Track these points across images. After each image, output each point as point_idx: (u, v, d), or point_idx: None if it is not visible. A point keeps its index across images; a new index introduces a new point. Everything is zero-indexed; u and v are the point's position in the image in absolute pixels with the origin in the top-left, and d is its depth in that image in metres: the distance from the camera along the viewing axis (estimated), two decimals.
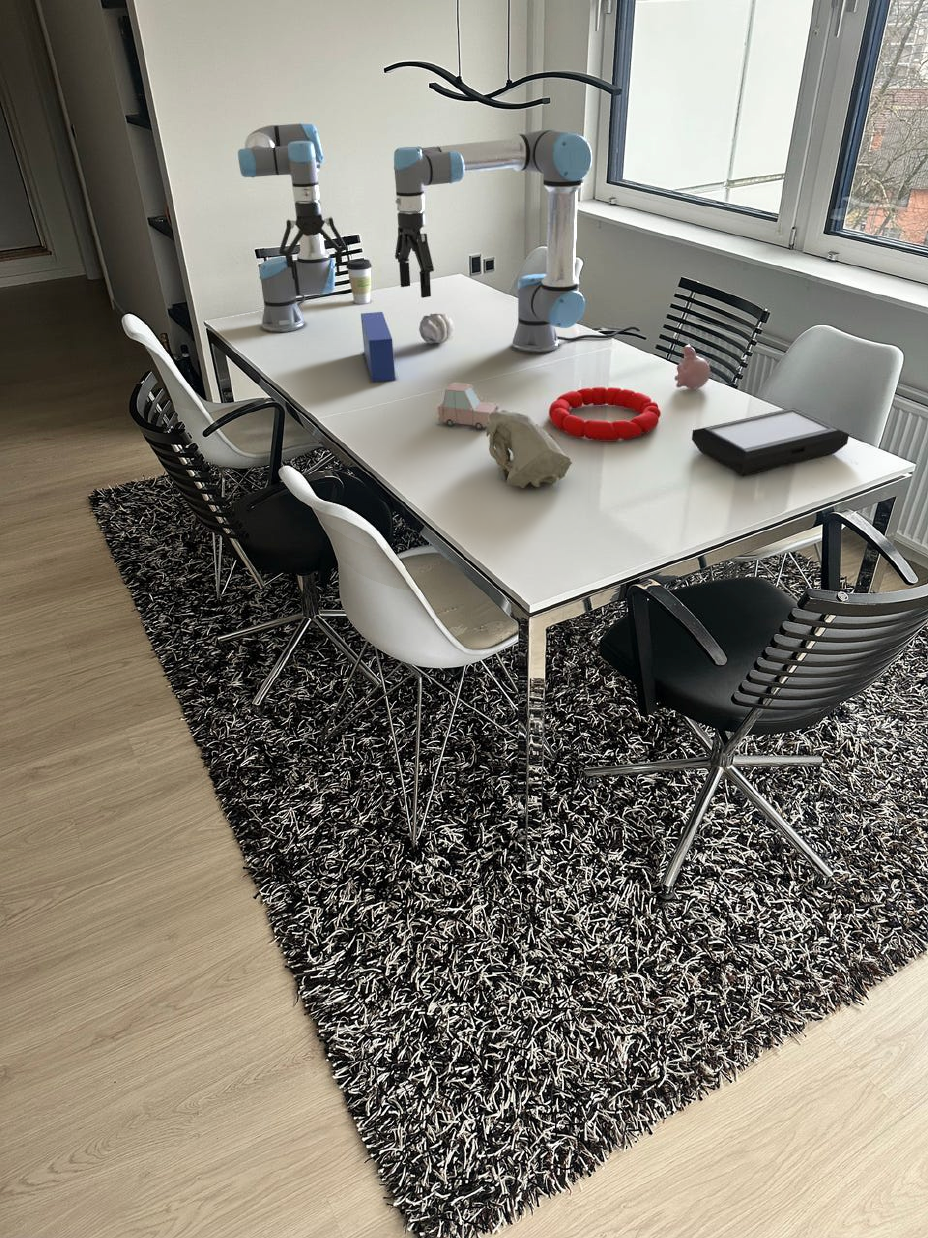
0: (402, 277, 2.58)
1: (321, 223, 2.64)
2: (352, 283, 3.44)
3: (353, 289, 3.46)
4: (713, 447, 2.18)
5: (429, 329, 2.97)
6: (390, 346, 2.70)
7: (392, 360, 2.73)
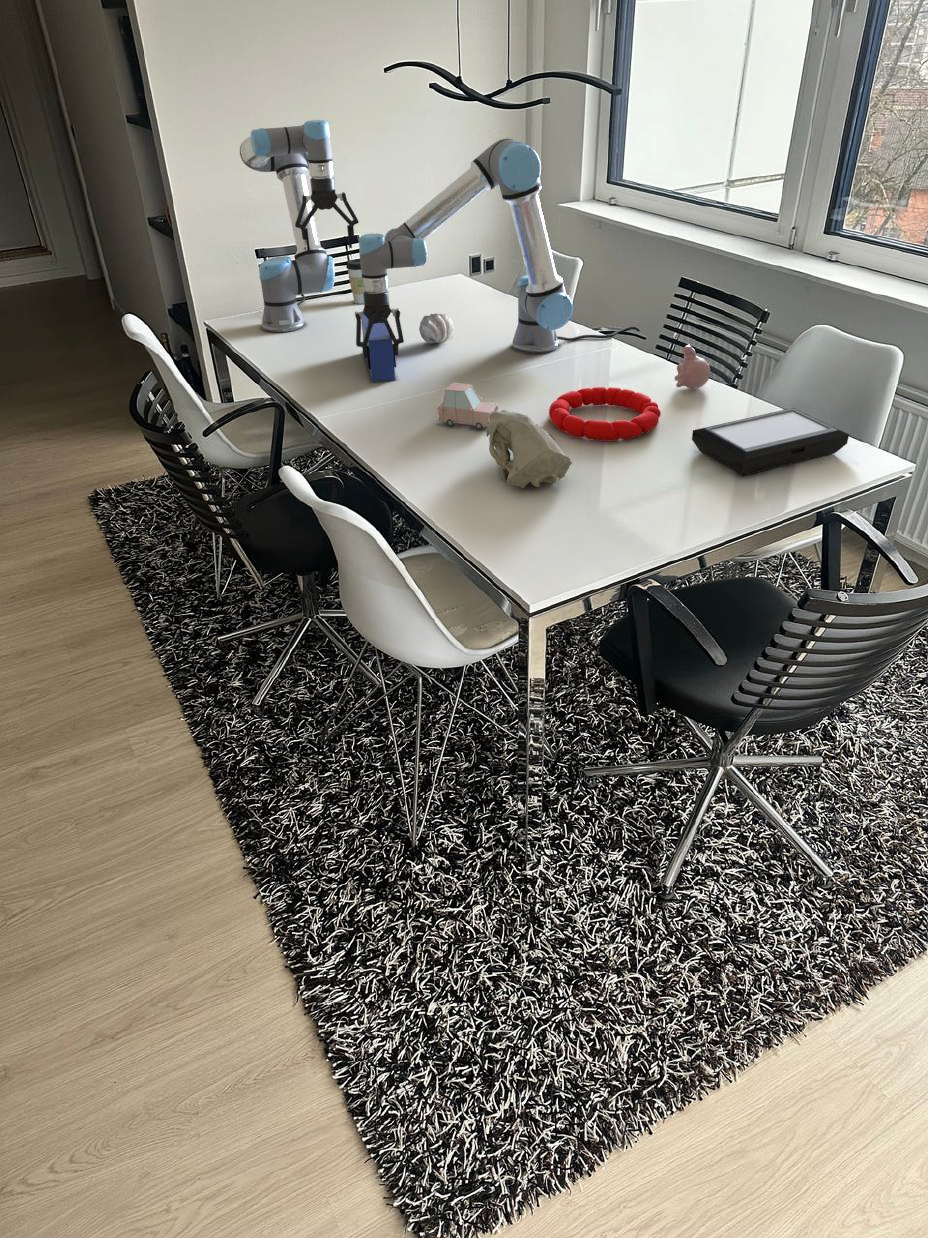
0: None
1: (335, 198, 2.81)
2: (352, 283, 3.44)
3: (353, 289, 3.46)
4: (713, 447, 2.18)
5: (429, 329, 2.97)
6: (390, 346, 2.70)
7: (392, 360, 2.73)
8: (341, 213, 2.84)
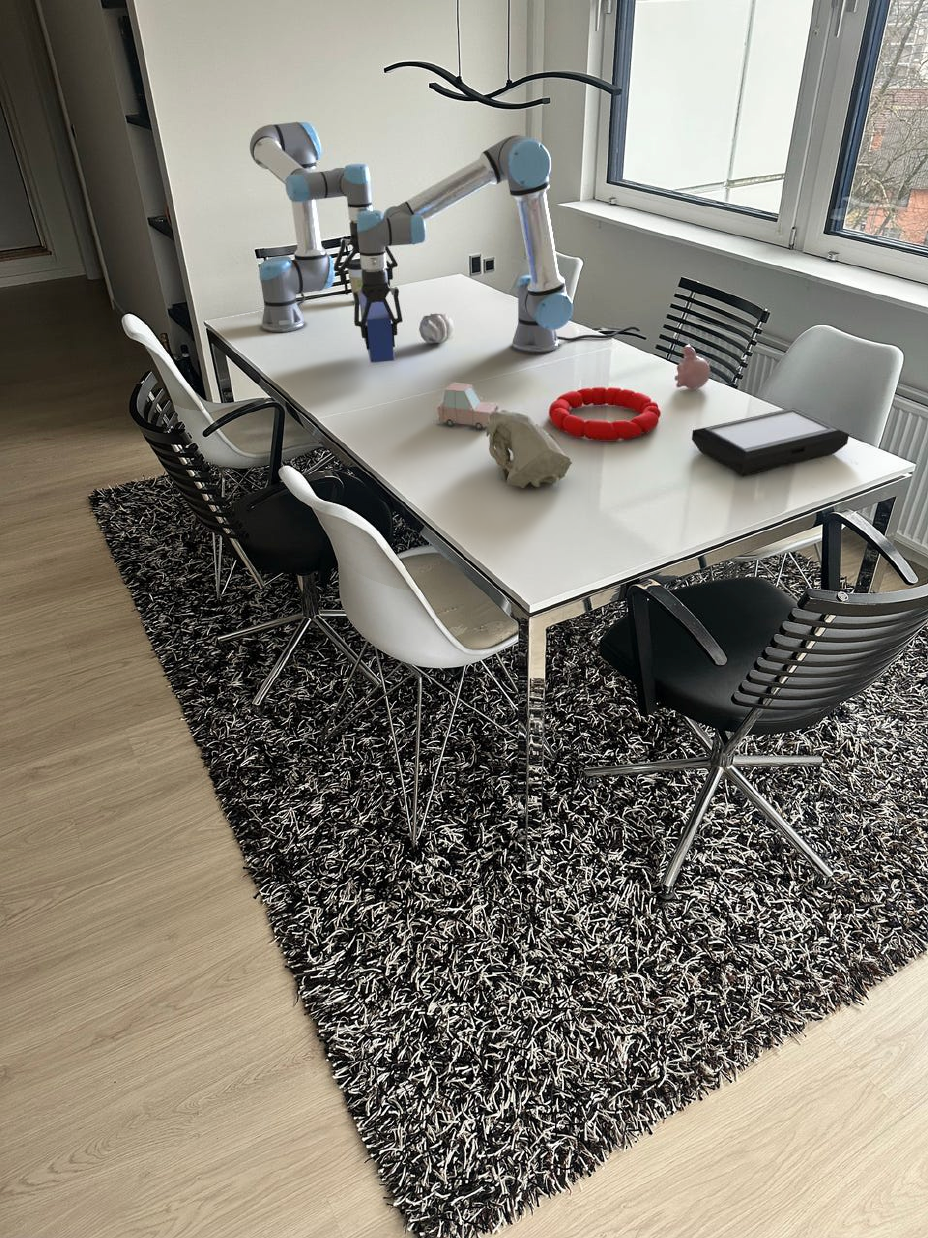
0: (368, 340, 2.70)
1: None
2: (352, 283, 3.44)
3: (353, 289, 3.46)
4: (713, 447, 2.18)
5: (429, 329, 2.97)
6: (388, 326, 2.67)
7: (391, 340, 2.69)
8: None
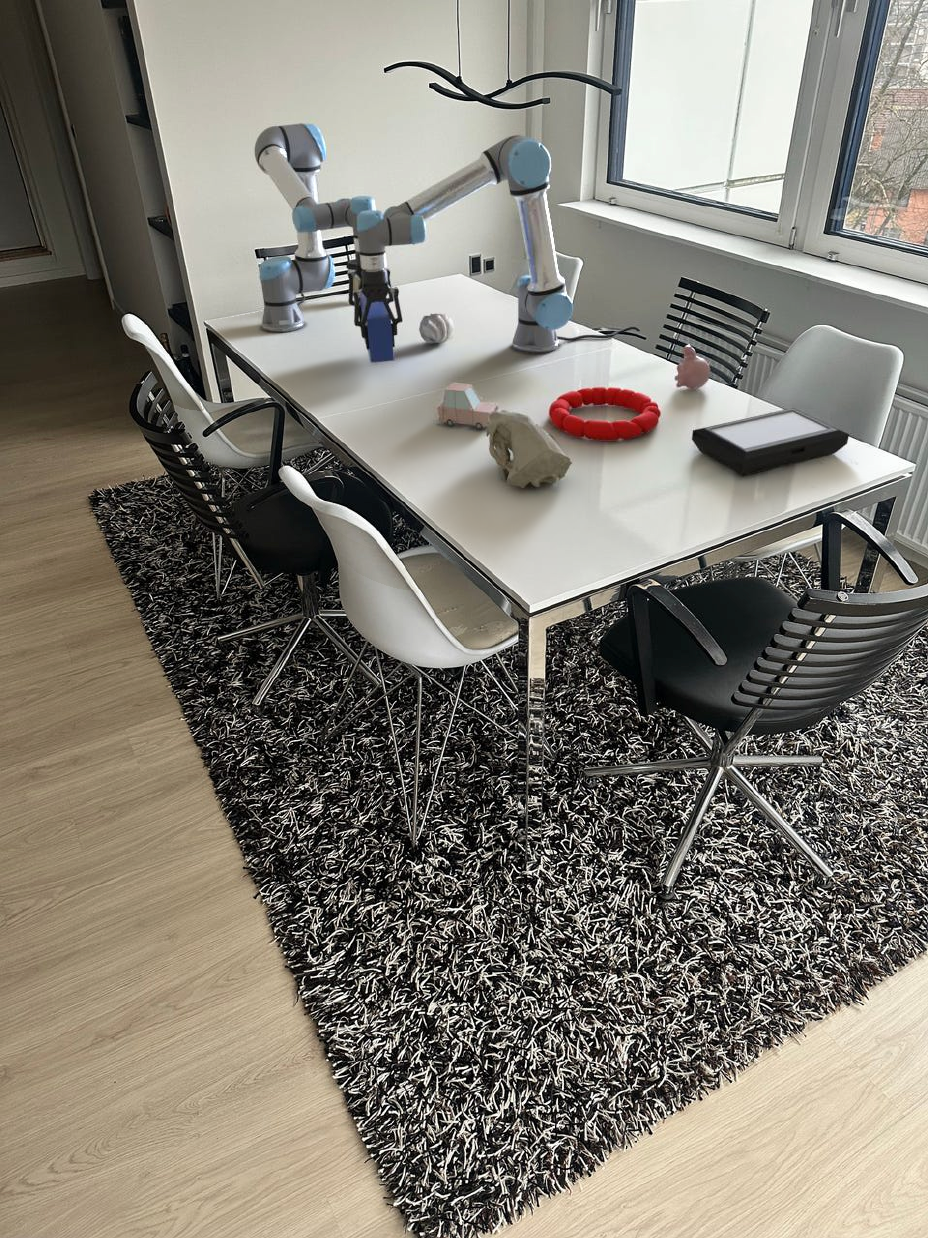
0: (368, 340, 2.70)
1: None
2: None
3: (353, 289, 3.46)
4: (713, 447, 2.18)
5: (429, 329, 2.97)
6: (388, 326, 2.67)
7: (391, 340, 2.69)
8: None
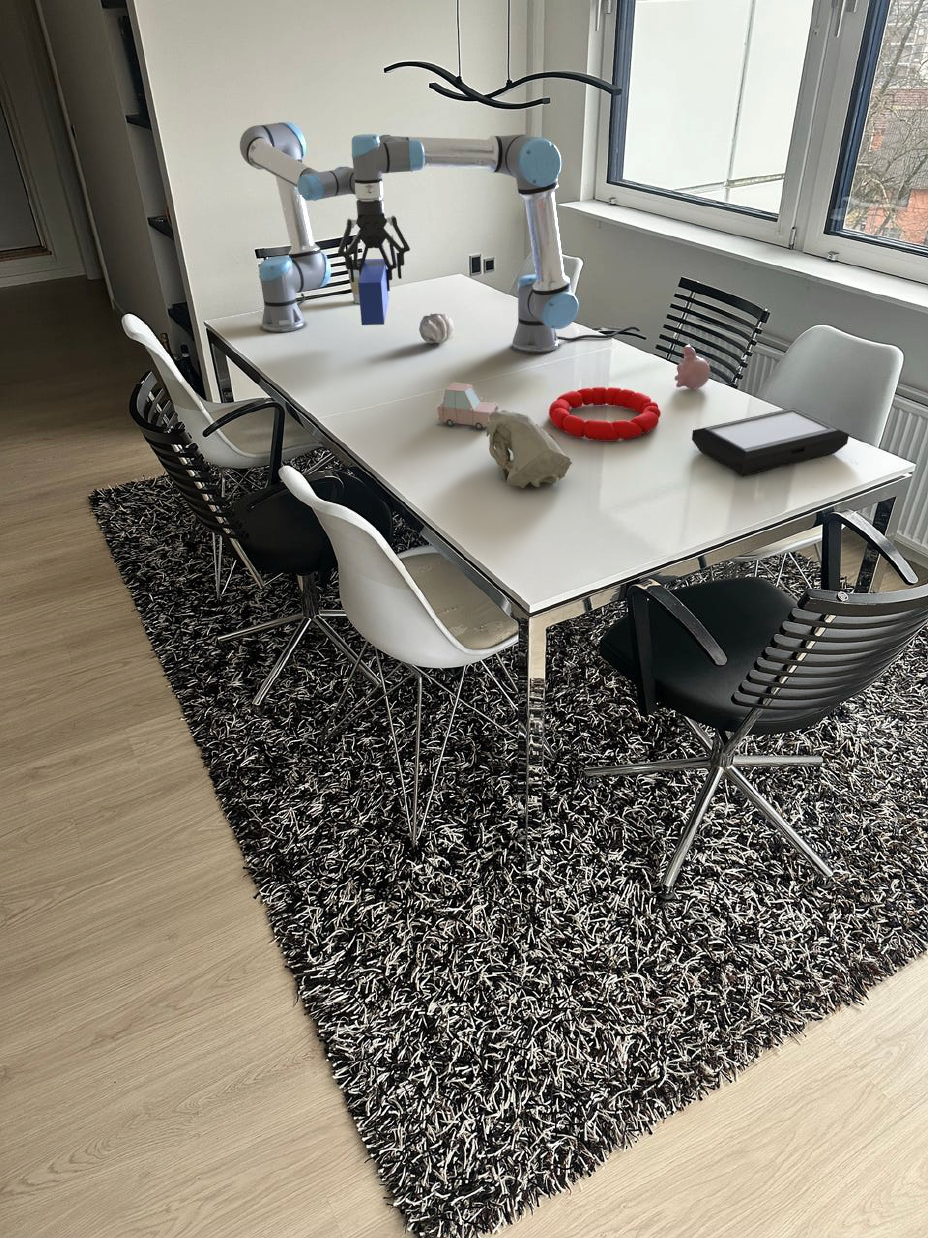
0: None
1: (383, 237, 2.90)
2: (352, 283, 3.44)
3: (353, 289, 3.46)
4: (713, 447, 2.18)
5: (429, 329, 2.97)
6: (379, 290, 2.75)
7: (381, 304, 2.77)
8: (384, 255, 2.93)
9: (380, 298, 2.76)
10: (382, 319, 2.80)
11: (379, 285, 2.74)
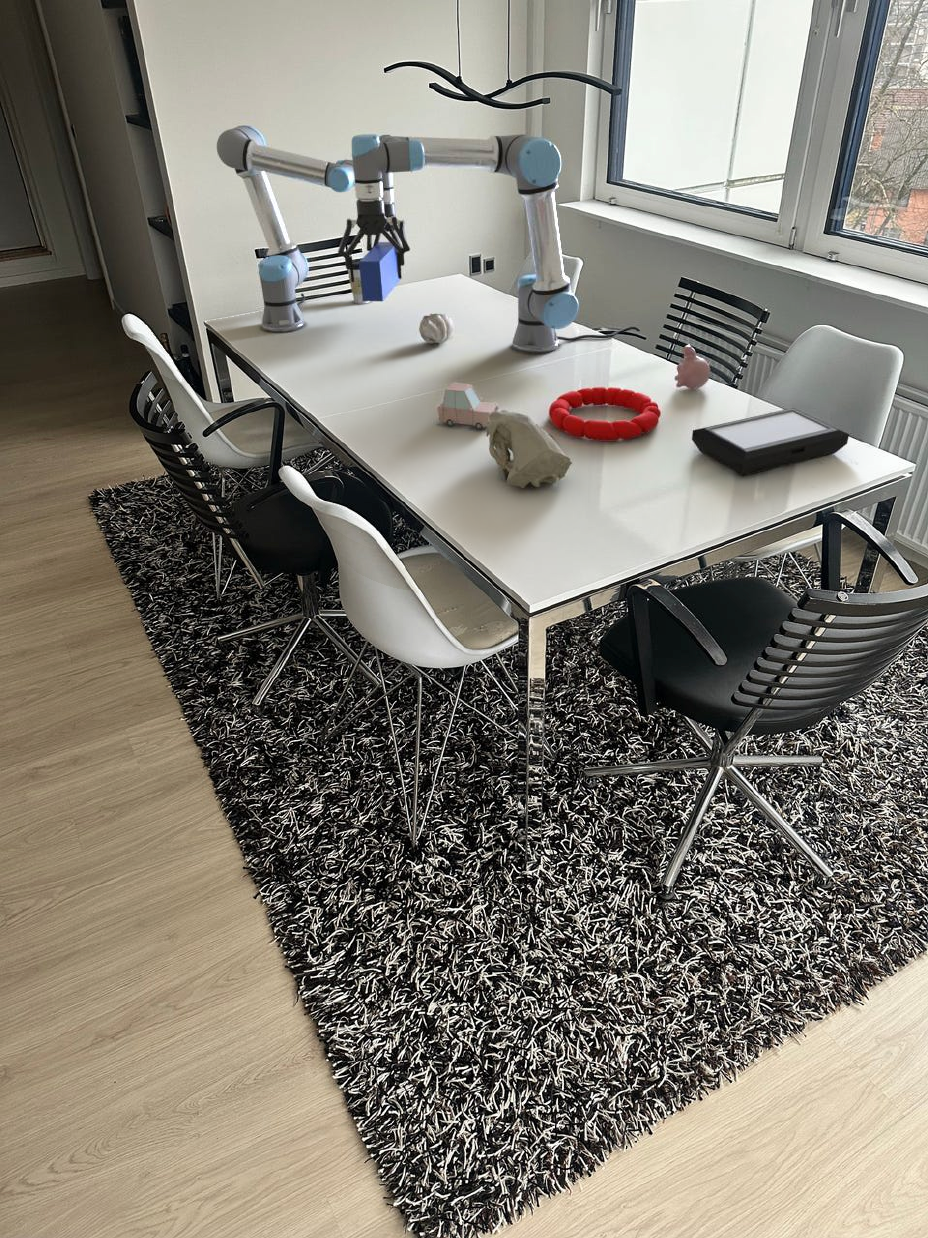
0: None
1: None
2: (352, 283, 3.44)
3: (353, 289, 3.46)
4: (713, 447, 2.18)
5: (429, 329, 2.97)
6: (378, 269, 2.97)
7: (380, 282, 2.99)
8: (394, 238, 3.15)
9: (379, 276, 2.98)
10: (381, 296, 3.02)
11: (378, 264, 2.96)
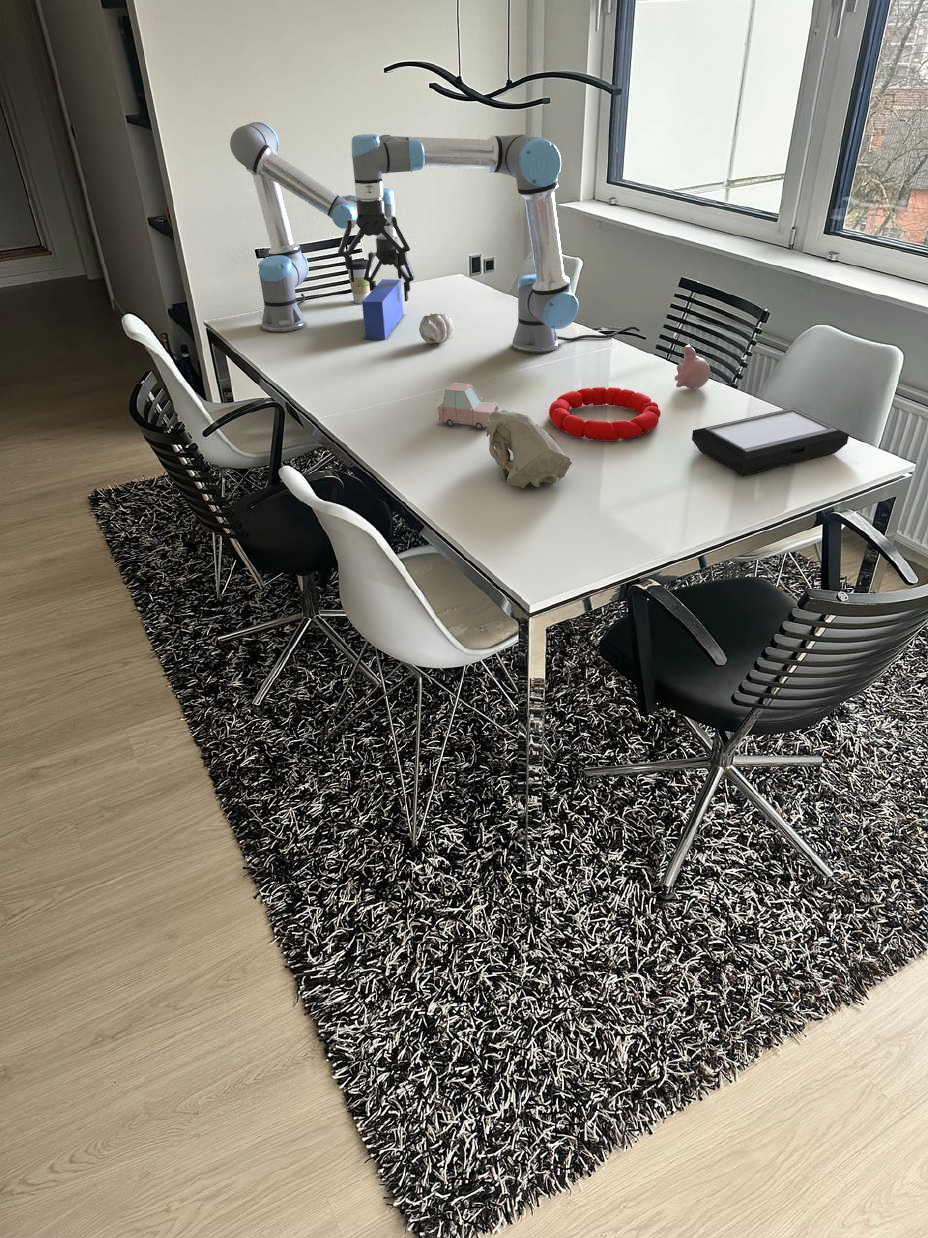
0: None
1: (395, 255, 3.18)
2: (352, 283, 3.44)
3: (353, 289, 3.46)
4: (713, 447, 2.18)
5: (429, 329, 2.97)
6: (380, 309, 3.04)
7: (382, 321, 3.07)
8: None
9: (381, 316, 3.06)
10: (383, 335, 3.09)
11: (380, 304, 3.04)
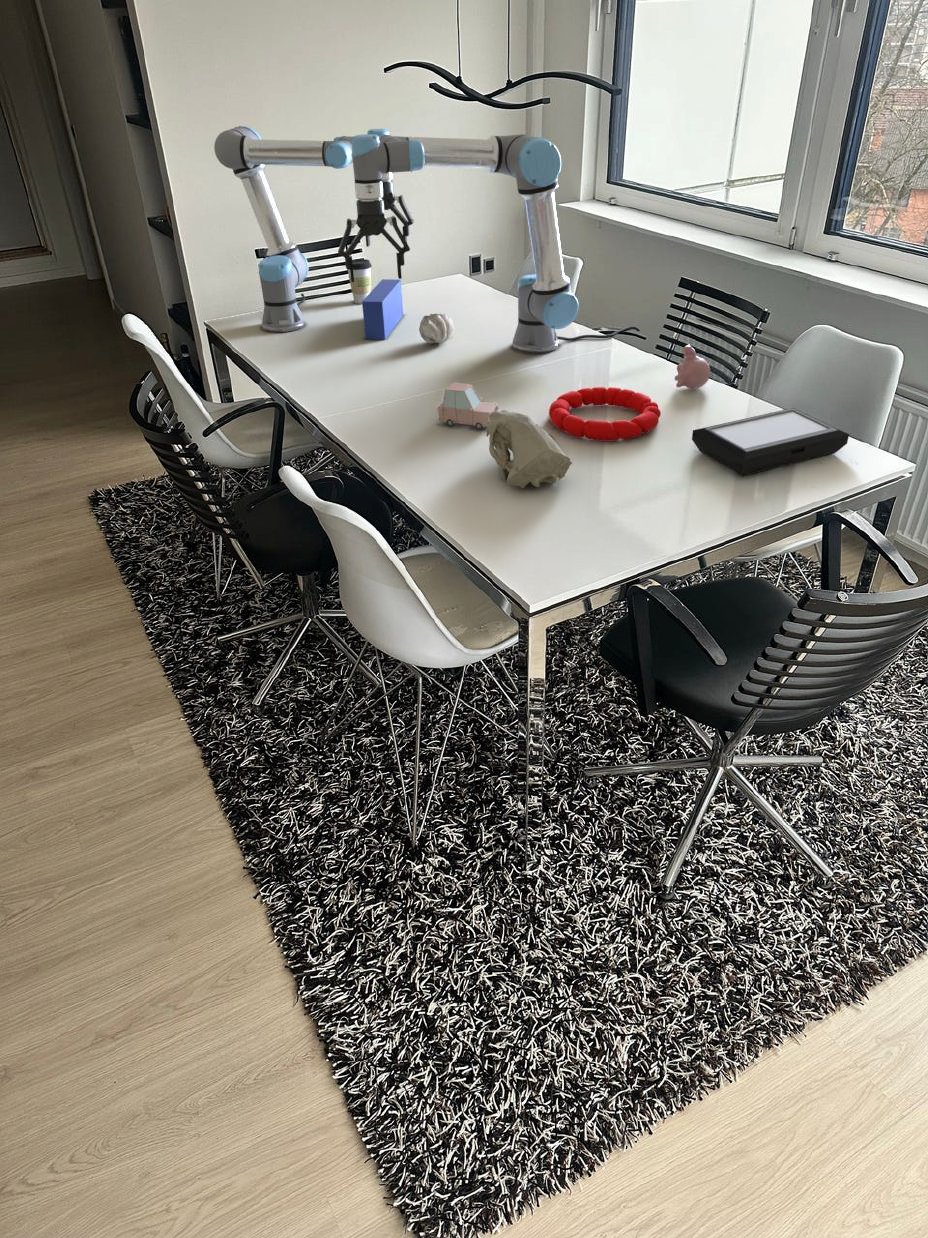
0: None
1: (392, 200, 3.08)
2: (352, 283, 3.44)
3: (353, 289, 3.46)
4: (713, 447, 2.18)
5: (429, 329, 2.97)
6: (380, 309, 3.04)
7: (382, 321, 3.07)
8: (397, 214, 3.10)
9: (381, 316, 3.06)
10: (383, 335, 3.09)
11: (380, 304, 3.04)
